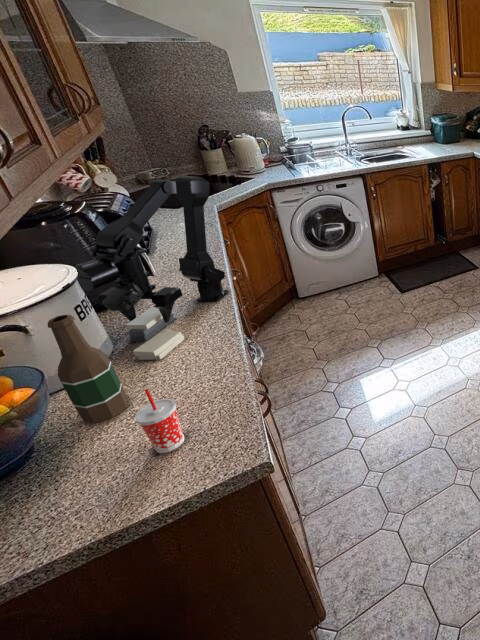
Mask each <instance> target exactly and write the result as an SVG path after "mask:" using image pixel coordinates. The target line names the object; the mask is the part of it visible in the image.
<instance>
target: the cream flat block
mask: <svg viewBox="0 0 480 640" xmlns="http://www.w3.org/2000/svg"><path fill="white" fill-rule="evenodd" d="M184 340H185V336H184V334H183V333H182V331H172V330H171V331H170V330H160V331H158V332H157V333H156V334H155V335H153V336H152V337H151V338H149V339H148V340H147V341H144V343H142V344H141V345H140V346H138V347H137V348H135V349H133V351H132V353H133V355H134V356H135V357H137V358H138V360H139V361H152V360H155V361H156V360H160V361H161V360H162V359H164V358H165V357H166V356H167V355H168V354H170V353H171V352H172V351H173V350H174V349H175V348H176V347H178V346H179V345H180V344H181V343H182V342H183V341H184Z"/></svg>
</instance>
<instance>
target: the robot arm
mask: <svg viewBox="0 0 480 640" xmlns="http://www.w3.org/2000/svg"><path fill="white" fill-rule="evenodd" d="M171 195H176V198H177V199H178V201H179V202H180V203H181V205H182V208H183V220H184V230H185V231H184V232H185V244H186V253H185V254H184V256H183V257H179V258H178V263H179V269H178V271H179V272H181V275H182V276H184V278H186V279H188V280H189V281H190V282H195V283H196V286H197V291H198V294H199V297H198V298H197V299H196V301H197V302H217V301H219V300H221V299H222V298H223V297H224V296H226V294H228V293H229V290H228V289H224V287H223V284H222V281H223V280H224V279H225V278H226V275H225V274H226V273H225V271H224V270H222V269H221V270H220V269H218V268H216V266H215V263H214V259H213V257H212V256H211V255H210V254H209V252H208V248H207V236H206V235H207V234H206V221H205V209H204V208H205V205H206V203H207V201H208V199H209V197H210V183H209V181H207V180H206V179H205V178H203V177H201V176H192V175H180V176H178V177H177V178H175V179H174V178H172V179H170V178H169V179H154V180H152V181H150V183H149V186H148V187H147V189H145V191H144V192H143V193H142V194H141V195H140V196H139V197H138V199H137V200H136V201H135V202H134V203H133V204H132V205H131V206H130V208H129V209H127V211H126V212H125V213H124V214H123V215H122V216H121V217H120V218H118V219H116V220H114V221H112V222H110V223H108V224H107V225H106V226H104V227H103V228H102V229H100V230H99V232H97V234H96V237H95V239H96V242H95V245H94V248H93V251H92V253H91V256H90V258H91V260H88V261H86V262H81V263H78V264H75V265H74V268H75V271H76V270H77V272H78V282H79V284H80V286H81V287H80V286H79V287H80V288H81V289H83V290H84V291H86V292H92V291H94V290H96V289H99V288H101V287H103V286H105V285H108V284H110V283H112V282H114V286H111V287H110V288H108V289H106V290H105V291H103V292H101V293H99V294H98V295H97V297H96V301H97V303H98V306H104V307H105V308H107V309H108V310H109V311H110V312H119V313H121V315H122V316H123V317H125V318H126V319H127V320H129V322H131V321H132V320H134V319H135V318H136V317H137V313H136V308H135V306H136V305H137V304H138V302H139V301H140V300H151V303H152V304H153V307H152V308H158V309H159V311H160V313H161V315H162V317H163V320H164V321H165V323H167V322H169V321H170V317H171V315H172V312H173V308H174V305H175V302H176V301H177V300H178V299H180V298H181V297H183V292H182V289H181V288H179V287H176V286H175V287H174V286H172V287H171V286H169V287H168V286H166V287H163V288H161V289H160V290H158V291H154V290H155V289H157V287H156V285H155V284H151V283H150V280H149V277H150V276H152V274H151V272H150V271H146V270H145V267H144V265H143V261H142V260H141V257H140V255H143V254H145V253H147V252H148V250H147V249H146V248H143V247H140V246H138V244H139V242H140V241H141V240H142V237H143V234H144V233H143V232H144V228H145V226H146V225H147V224H148V223H149V222H150V220H151V219H152V218H153V216H154V215H155V214H156V213H157V212H158V210H159V209H160V208H161V206H163V204H164V203H165V202H166V201H167V200H168V198H169V197H170V196H171ZM109 251H113V252H109Z"/></svg>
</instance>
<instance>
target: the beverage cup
mask: <svg viewBox="0 0 480 640" xmlns="http://www.w3.org/2000/svg"><path fill="white" fill-rule="evenodd" d="M144 392H145V394H146V396H147V398H148V401H149V403H147V404H146V405H144V406H142V407H141V408H140V409H139V410H138V411H137V412H136V413H135V415H134V419H135V422H136V423H137V424H138V425H140V427H141V428H142V430H143V431H144V433H145V435H146V437H147V438H148V440H149V442H150V443H151V445H152V446H153V448H154V450H155V451H156V452H157V453H158V454H165V453H170V452H172V451H174V450H176V449H178V448H179V447H181V446H182V444H183V443H184V441H185V439H186V438H185V435H184V431H183V428H182V426H181V423H180V419H179V416H178V413H177V404H176V401H175V400H174V399H172V398H161V399H157V400H154V399H153V397H152V395H151V392H150V390H149V389H148V388H146V389H144Z"/></svg>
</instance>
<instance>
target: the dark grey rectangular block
mask: <svg viewBox="0 0 480 640" xmlns="http://www.w3.org/2000/svg"><path fill="white" fill-rule="evenodd" d="M174 320H175V316H174V314H171V317H170V321H169V322H167V323H165V321H164V320H163V318H162V319H161V320H159V321H158V322H157V323H155V324H154V325H153V326H151V327H150V328H149V329H128V331H127V333H128V337H129V340H130V341H131V342H147V341H148V340H149V339H151V338H152V337H154V336H155V335H157V334H158V333H159V332H161V331H162V330H163V329H164V328H165V327H166V326H168V325H169V324H171V322H173V321H174Z"/></svg>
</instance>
